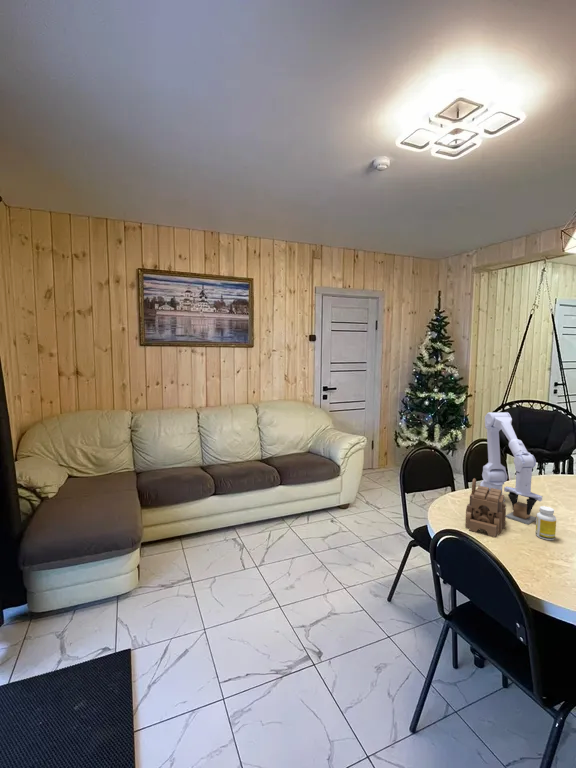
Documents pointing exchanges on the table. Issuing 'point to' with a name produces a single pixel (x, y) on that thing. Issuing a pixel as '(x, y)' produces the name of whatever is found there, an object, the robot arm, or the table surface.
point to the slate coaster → (525, 521)
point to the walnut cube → (520, 510)
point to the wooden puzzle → (486, 510)
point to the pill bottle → (546, 523)
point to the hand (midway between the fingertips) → (521, 511)
